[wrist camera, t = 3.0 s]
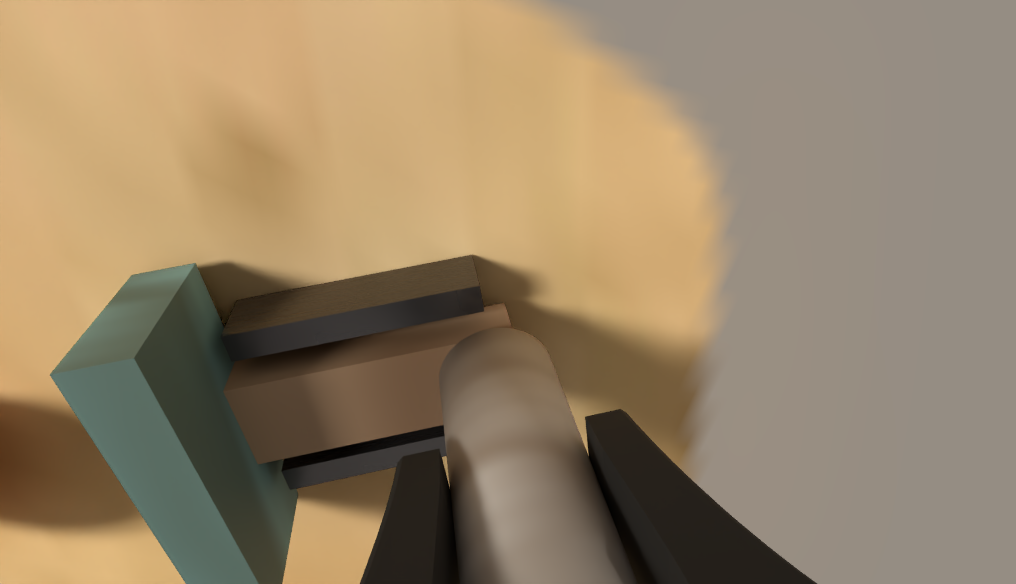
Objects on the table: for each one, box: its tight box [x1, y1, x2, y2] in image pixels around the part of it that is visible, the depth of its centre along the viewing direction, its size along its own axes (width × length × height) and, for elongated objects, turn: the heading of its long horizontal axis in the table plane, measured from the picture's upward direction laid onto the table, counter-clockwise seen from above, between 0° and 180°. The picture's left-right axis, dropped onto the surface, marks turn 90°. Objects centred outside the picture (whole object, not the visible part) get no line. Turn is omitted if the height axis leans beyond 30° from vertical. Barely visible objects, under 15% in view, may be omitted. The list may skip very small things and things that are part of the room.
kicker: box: [50, 263, 638, 584], centre depth 10 cm, size 8×6×8 cm
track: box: [220, 255, 484, 490], centre depth 13 cm, size 5×4×1 cm
